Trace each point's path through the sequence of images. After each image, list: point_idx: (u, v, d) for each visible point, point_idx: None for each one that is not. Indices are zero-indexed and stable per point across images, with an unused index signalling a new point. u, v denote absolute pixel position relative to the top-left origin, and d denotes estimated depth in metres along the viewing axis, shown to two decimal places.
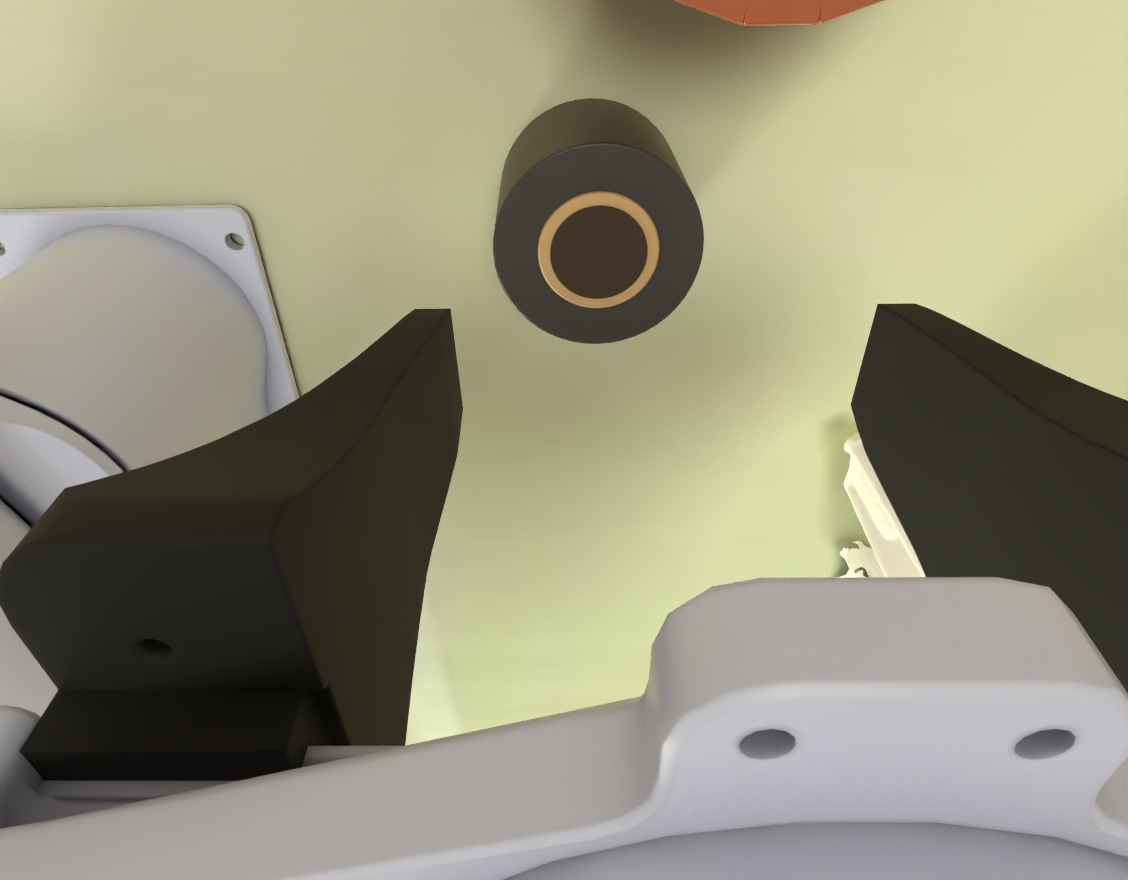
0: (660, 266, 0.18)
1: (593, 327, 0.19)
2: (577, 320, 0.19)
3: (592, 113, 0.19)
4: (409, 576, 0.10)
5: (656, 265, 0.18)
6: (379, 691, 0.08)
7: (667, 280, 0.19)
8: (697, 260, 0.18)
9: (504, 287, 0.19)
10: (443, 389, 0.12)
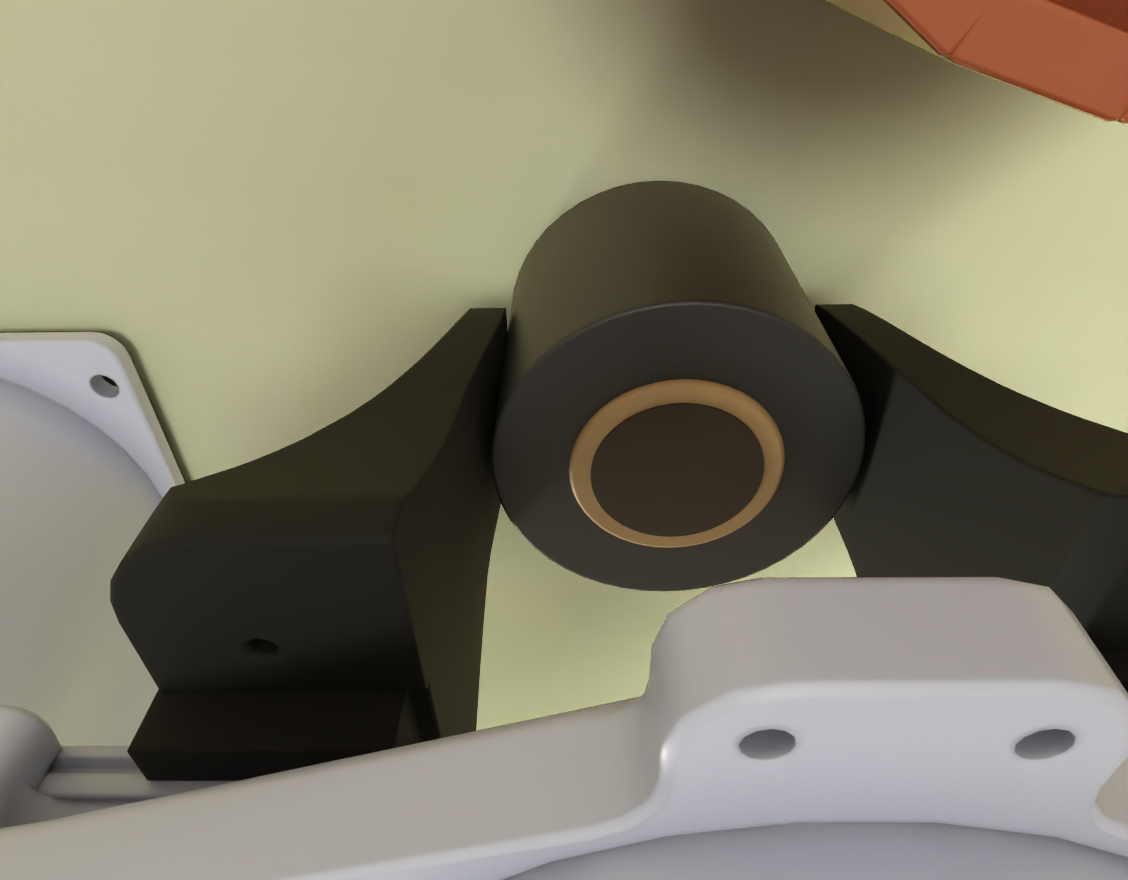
0: (782, 491, 0.11)
1: (659, 570, 0.12)
2: (633, 560, 0.11)
3: (667, 218, 0.11)
4: (477, 576, 0.10)
5: (776, 489, 0.11)
6: (459, 691, 0.08)
7: (791, 510, 0.11)
8: (848, 482, 0.10)
9: (510, 515, 0.11)
10: None
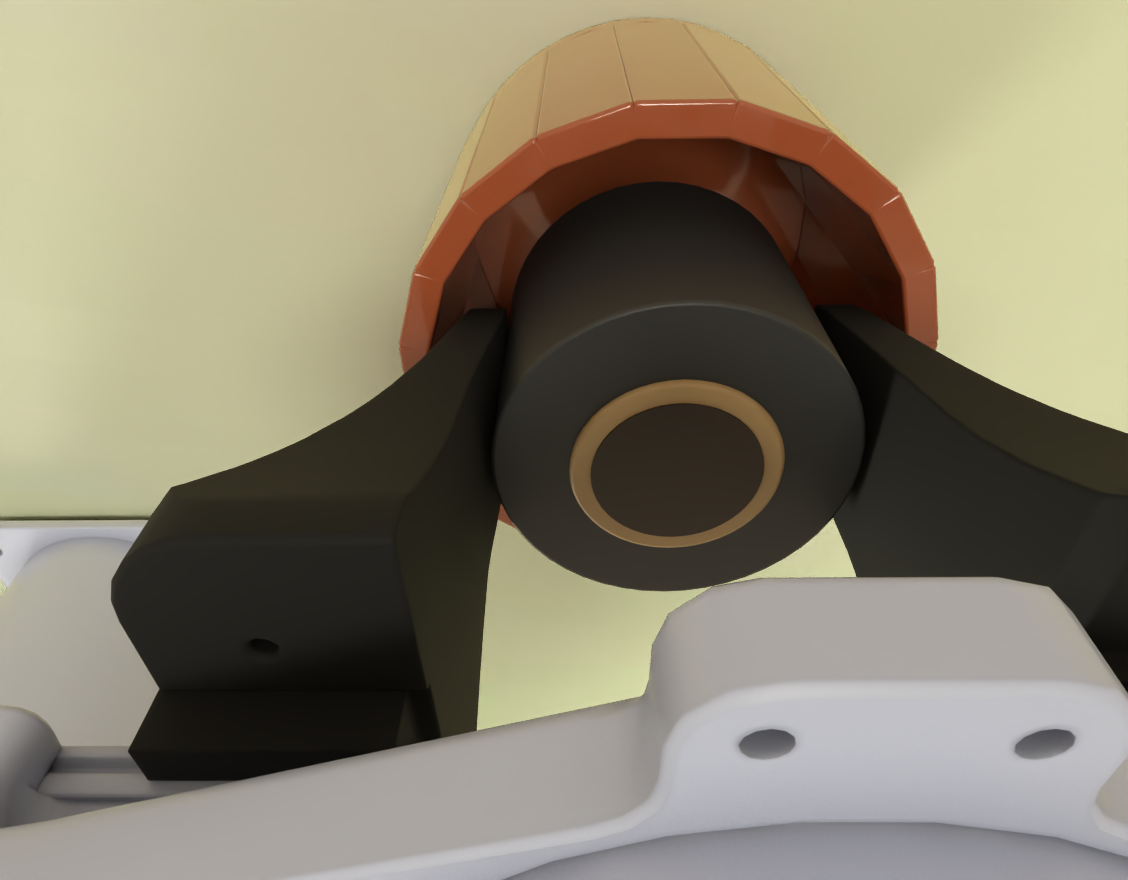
0: (782, 491, 0.11)
1: (659, 570, 0.12)
2: (633, 561, 0.11)
3: (667, 218, 0.11)
4: (477, 576, 0.10)
5: (776, 489, 0.11)
6: (460, 691, 0.08)
7: (792, 509, 0.11)
8: (848, 482, 0.10)
9: (510, 516, 0.11)
10: None
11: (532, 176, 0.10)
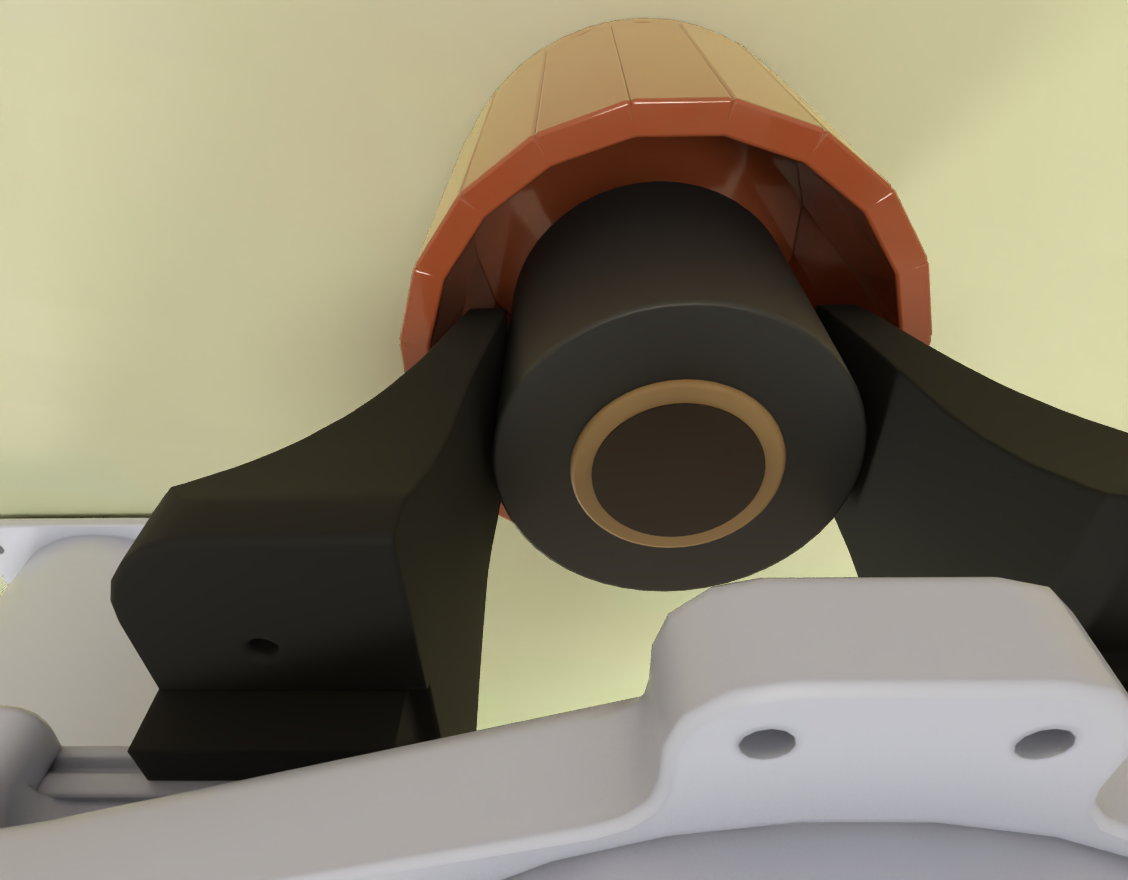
0: (784, 490, 0.11)
1: (659, 570, 0.12)
2: (633, 561, 0.11)
3: (667, 218, 0.11)
4: (477, 576, 0.10)
5: (777, 489, 0.11)
6: (459, 691, 0.08)
7: (793, 509, 0.11)
8: (849, 482, 0.10)
9: (511, 516, 0.11)
10: None
11: (531, 173, 0.10)
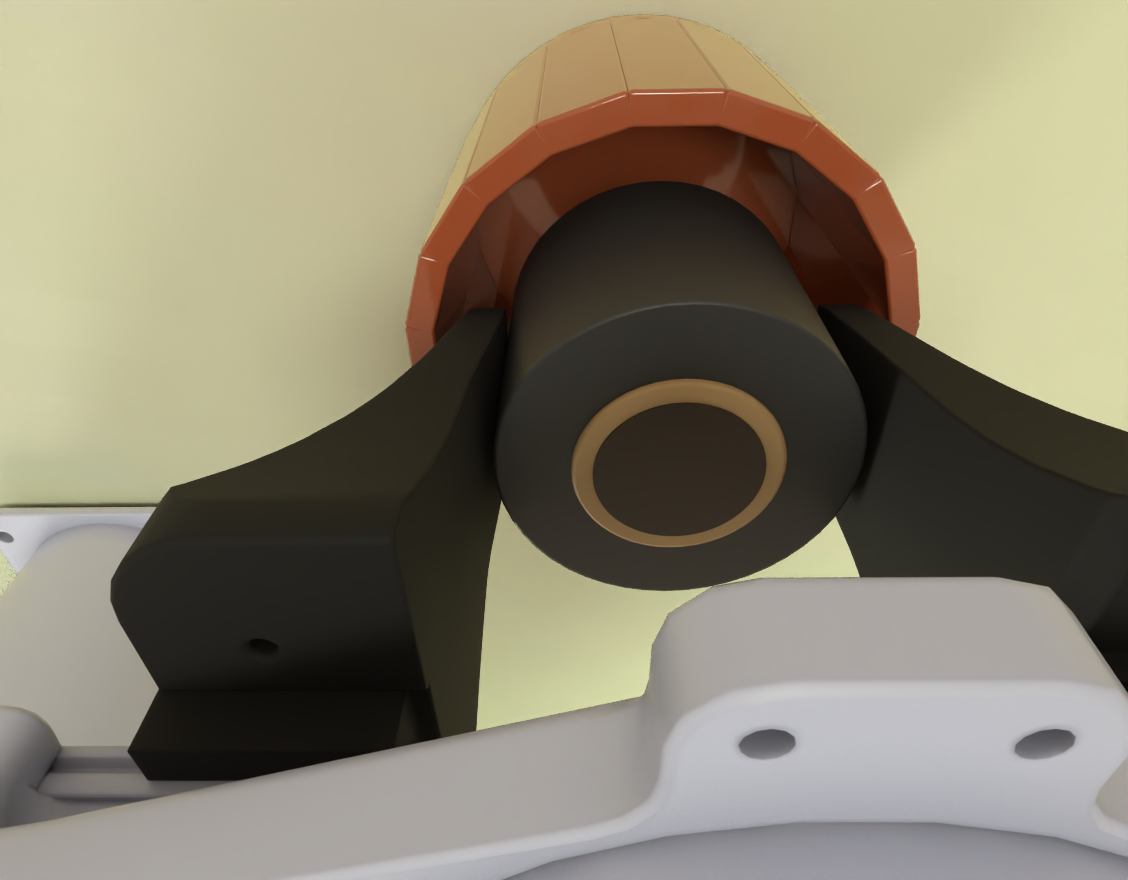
0: (784, 490, 0.11)
1: (661, 570, 0.12)
2: (635, 560, 0.11)
3: (668, 217, 0.11)
4: (477, 576, 0.10)
5: (778, 488, 0.11)
6: (459, 691, 0.08)
7: (794, 508, 0.11)
8: (850, 481, 0.10)
9: (512, 515, 0.11)
10: None
11: (533, 162, 0.11)
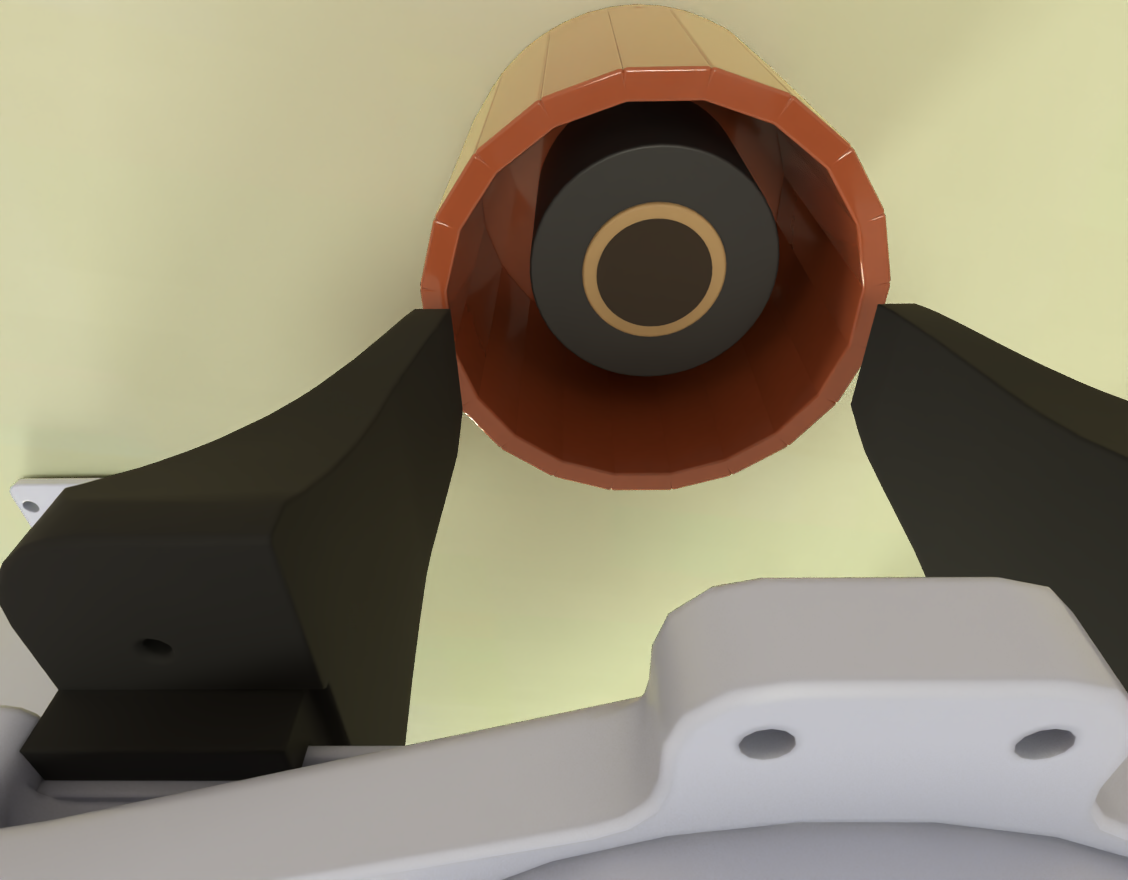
0: (726, 290, 0.16)
1: (643, 357, 0.17)
2: (625, 349, 0.17)
3: (648, 107, 0.16)
4: (409, 576, 0.10)
5: (721, 288, 0.16)
6: (379, 691, 0.08)
7: (733, 305, 0.16)
8: (770, 283, 0.15)
9: (541, 311, 0.16)
10: (443, 389, 0.12)
11: (537, 134, 0.12)
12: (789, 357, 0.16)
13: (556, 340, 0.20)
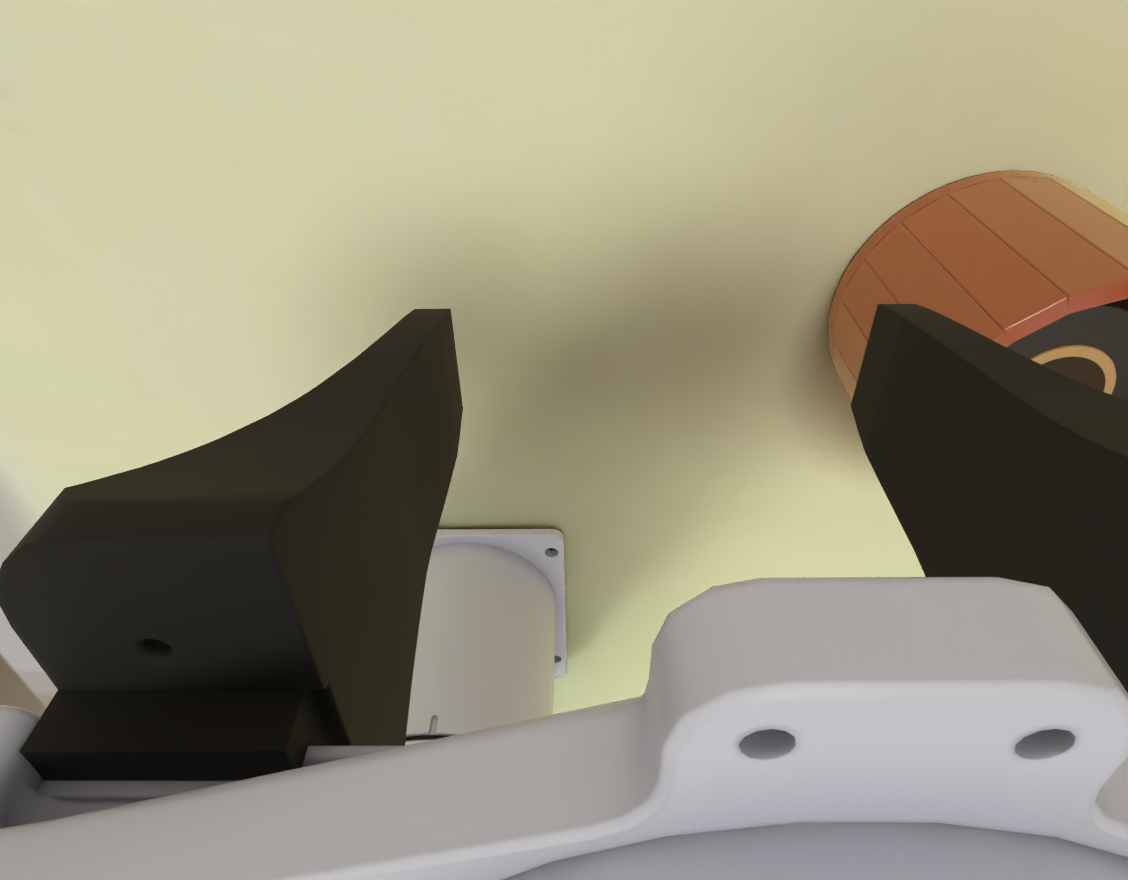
0: None
1: None
2: None
3: None
4: (409, 576, 0.10)
5: None
6: (379, 691, 0.08)
7: None
8: None
9: None
10: (443, 389, 0.12)
11: (1056, 318, 0.16)
12: None
13: None
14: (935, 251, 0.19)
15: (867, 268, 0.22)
